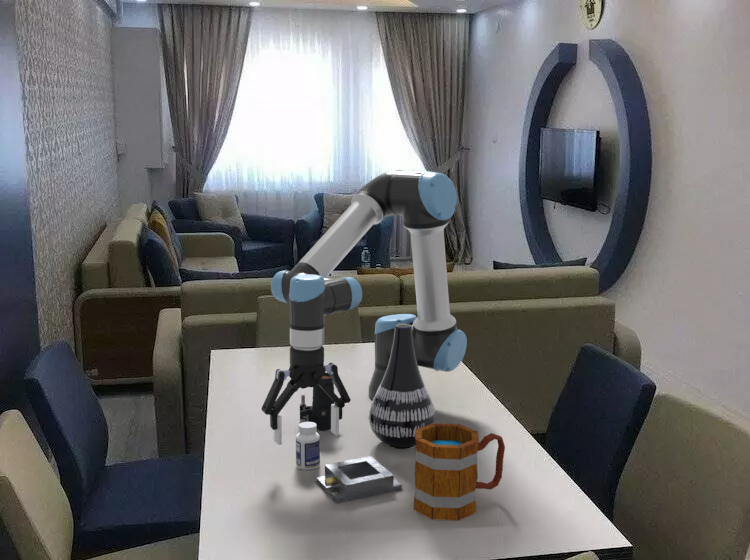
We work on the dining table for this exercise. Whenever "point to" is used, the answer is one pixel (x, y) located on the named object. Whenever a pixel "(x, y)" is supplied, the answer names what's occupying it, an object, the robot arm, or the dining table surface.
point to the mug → (450, 470)
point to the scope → (318, 406)
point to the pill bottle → (307, 446)
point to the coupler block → (357, 479)
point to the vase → (401, 396)
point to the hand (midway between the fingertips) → (306, 438)
